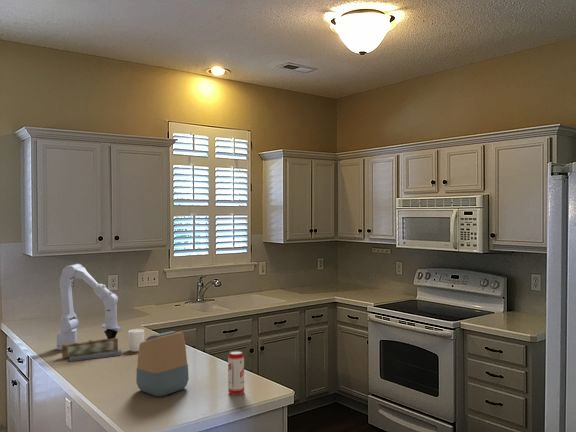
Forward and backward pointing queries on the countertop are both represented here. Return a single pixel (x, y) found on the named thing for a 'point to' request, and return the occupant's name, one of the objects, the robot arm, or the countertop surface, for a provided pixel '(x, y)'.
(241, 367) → the beer can
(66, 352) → the picture frame
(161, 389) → the two-tone smart speaker
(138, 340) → the white cup
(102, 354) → the slanted bar
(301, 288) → the countertop surface
